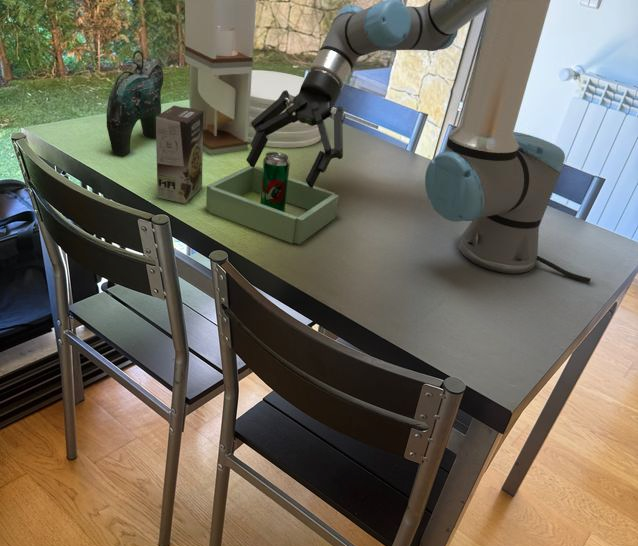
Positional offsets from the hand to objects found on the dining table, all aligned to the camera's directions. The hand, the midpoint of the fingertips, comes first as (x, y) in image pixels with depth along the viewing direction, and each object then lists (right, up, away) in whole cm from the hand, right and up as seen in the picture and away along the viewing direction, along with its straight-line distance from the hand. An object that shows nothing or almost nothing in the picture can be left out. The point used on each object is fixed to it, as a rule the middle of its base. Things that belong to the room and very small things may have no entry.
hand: (278, 174), depth 118 cm
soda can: (-2, -7, +4) cm, 8 cm away
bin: (-2, -7, +3) cm, 8 cm away
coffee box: (-21, -3, +6) cm, 22 cm away
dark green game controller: (-35, +14, +24) cm, 44 cm away
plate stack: (-5, +25, +45) cm, 52 cm away
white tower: (-18, +16, +31) cm, 39 cm away
